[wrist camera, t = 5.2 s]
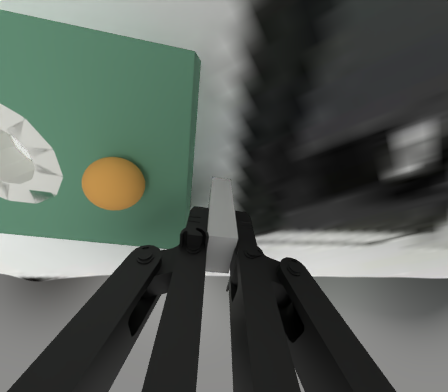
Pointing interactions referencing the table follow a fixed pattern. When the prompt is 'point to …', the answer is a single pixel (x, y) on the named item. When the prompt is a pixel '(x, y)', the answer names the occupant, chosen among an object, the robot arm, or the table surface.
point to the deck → (93, 130)
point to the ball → (113, 183)
